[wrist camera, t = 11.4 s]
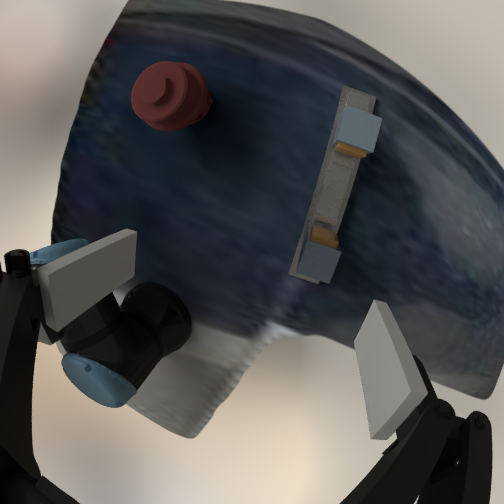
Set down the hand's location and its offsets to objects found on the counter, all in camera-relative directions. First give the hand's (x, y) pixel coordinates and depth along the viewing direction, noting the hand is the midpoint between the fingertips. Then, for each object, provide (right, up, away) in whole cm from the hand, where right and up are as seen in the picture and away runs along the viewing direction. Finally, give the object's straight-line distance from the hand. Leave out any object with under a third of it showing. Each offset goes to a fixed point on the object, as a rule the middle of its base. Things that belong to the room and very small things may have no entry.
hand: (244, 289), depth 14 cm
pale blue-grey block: (+13, +17, +19) cm, 29 cm away
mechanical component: (-9, +25, +25) cm, 36 cm away
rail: (+12, +11, +24) cm, 29 cm away
